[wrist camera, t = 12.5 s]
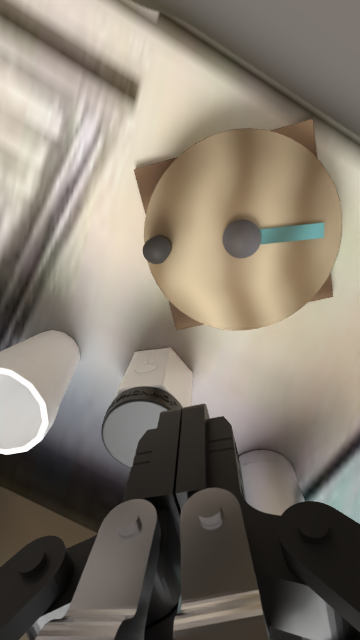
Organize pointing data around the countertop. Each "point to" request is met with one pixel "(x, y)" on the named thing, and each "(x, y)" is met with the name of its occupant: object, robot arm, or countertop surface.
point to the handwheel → (243, 229)
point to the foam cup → (33, 387)
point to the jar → (145, 400)
